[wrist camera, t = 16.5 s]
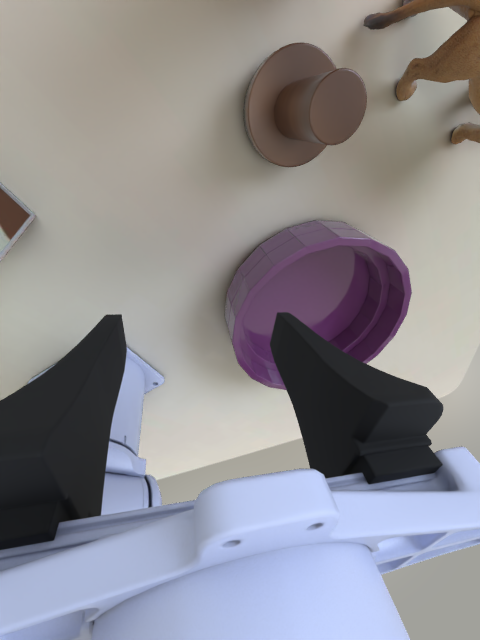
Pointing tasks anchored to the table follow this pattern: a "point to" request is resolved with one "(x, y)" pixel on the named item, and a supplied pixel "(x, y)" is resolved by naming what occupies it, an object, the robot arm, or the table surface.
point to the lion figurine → (443, 55)
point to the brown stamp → (301, 105)
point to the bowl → (317, 294)
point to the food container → (12, 220)
